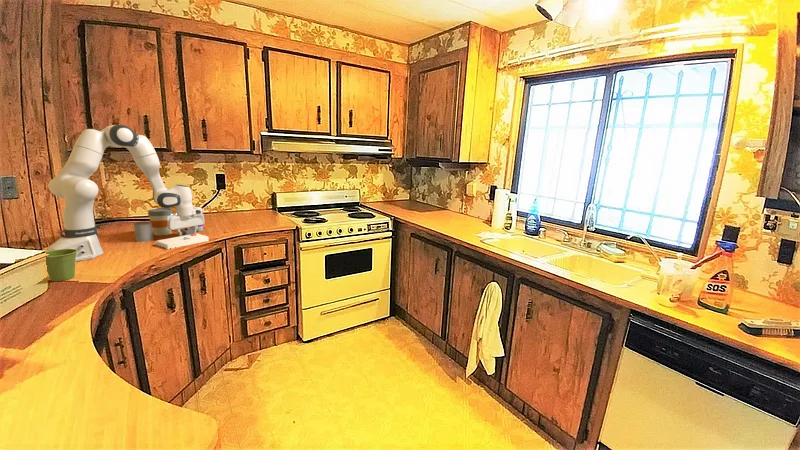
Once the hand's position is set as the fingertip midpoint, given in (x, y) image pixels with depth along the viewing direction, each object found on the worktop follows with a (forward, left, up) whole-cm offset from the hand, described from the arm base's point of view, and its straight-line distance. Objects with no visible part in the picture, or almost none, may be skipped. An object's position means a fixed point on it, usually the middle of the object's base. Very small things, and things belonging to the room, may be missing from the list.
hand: (187, 234), depth 215 cm
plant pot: (-64, -29, -2) cm, 70 cm away
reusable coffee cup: (-5, +20, -2) cm, 21 cm away
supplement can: (+12, +12, -2) cm, 17 cm away
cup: (-18, +12, -2) cm, 22 cm away
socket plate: (-8, -11, -2) cm, 14 cm away
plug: (0, 0, -2) cm, 2 cm away
